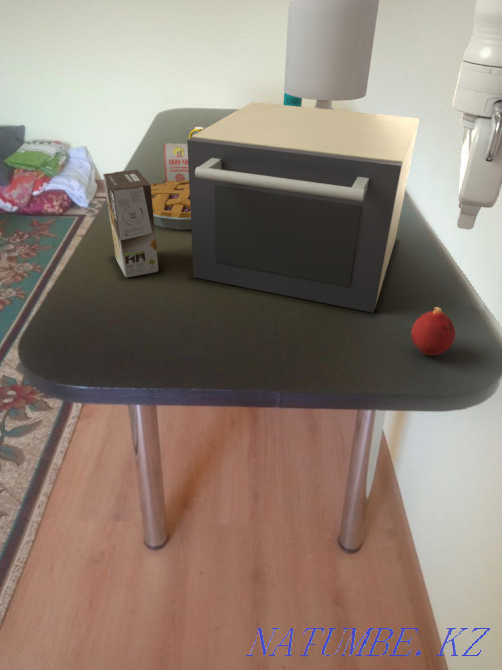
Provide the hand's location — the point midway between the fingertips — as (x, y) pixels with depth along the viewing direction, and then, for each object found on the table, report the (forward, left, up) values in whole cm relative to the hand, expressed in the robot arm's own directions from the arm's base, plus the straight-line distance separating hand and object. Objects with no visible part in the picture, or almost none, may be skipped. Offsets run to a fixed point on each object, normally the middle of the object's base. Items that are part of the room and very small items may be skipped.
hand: (464, 216), depth 63 cm
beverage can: (+51, -106, -21) cm, 119 cm away
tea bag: (+65, -52, -21) cm, 86 cm away
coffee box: (+53, -9, -21) cm, 58 cm away
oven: (+25, -24, -21) cm, 41 cm away
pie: (+55, -35, -21) cm, 69 cm away
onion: (0, 0, -21) cm, 21 cm away
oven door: (+25, -6, -21) cm, 33 cm away
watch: (+74, -84, -21) cm, 114 cm away
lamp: (+36, -82, -21) cm, 92 cm away
